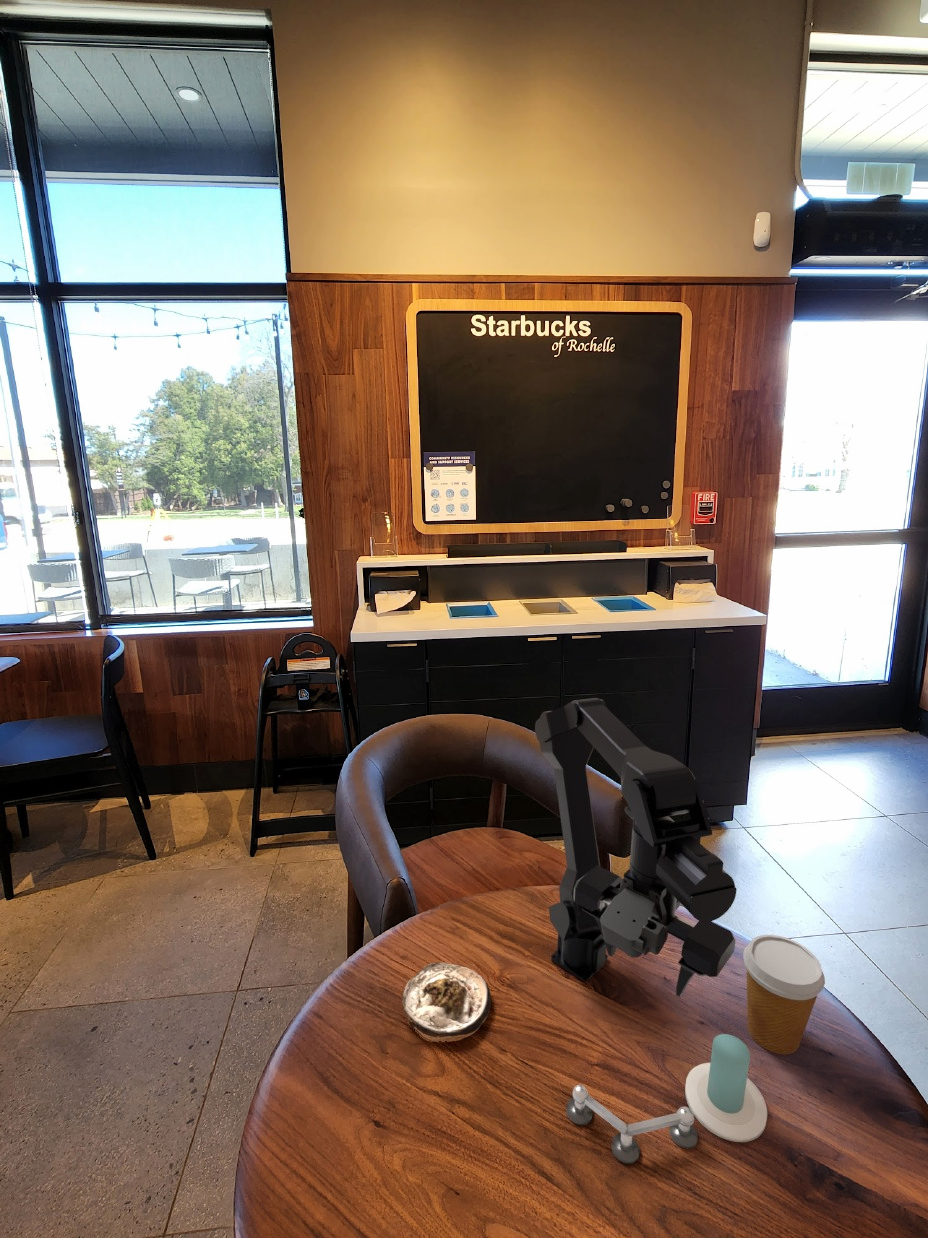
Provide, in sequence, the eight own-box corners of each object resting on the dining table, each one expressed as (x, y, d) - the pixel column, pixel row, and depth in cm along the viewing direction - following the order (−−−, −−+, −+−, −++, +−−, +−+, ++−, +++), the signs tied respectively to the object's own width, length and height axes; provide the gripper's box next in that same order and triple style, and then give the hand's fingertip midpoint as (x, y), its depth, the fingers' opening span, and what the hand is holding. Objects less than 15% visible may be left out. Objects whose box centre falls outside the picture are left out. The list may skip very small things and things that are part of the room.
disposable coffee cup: (823, 1073, 79) (838, 994, 76) (742, 1059, 81) (753, 980, 78) (800, 1011, 88) (812, 938, 85) (728, 999, 90) (737, 927, 87)
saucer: (672, 1104, 75) (672, 1098, 74) (703, 1054, 81) (704, 1049, 81) (750, 1160, 69) (751, 1154, 68) (777, 1101, 75) (778, 1095, 75)
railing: (561, 1113, 74) (562, 1089, 73) (601, 1061, 80) (603, 1039, 79) (665, 1199, 65) (668, 1173, 64) (701, 1134, 71) (704, 1110, 70)
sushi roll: (517, 994, 91) (518, 969, 90) (463, 1077, 78) (464, 1050, 77) (432, 953, 98) (432, 930, 97) (371, 1022, 86) (370, 997, 85)
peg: (714, 1074, 77) (720, 1028, 76) (748, 1096, 75) (755, 1048, 73) (701, 1097, 75) (707, 1050, 73) (735, 1121, 72) (742, 1072, 70)
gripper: (551, 860, 75) (545, 969, 79) (703, 939, 63) (688, 1064, 67) (600, 824, 83) (593, 924, 87) (744, 887, 71) (728, 1001, 75)
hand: (644, 973), depth 79 cm, fingers open, 9 cm apart
